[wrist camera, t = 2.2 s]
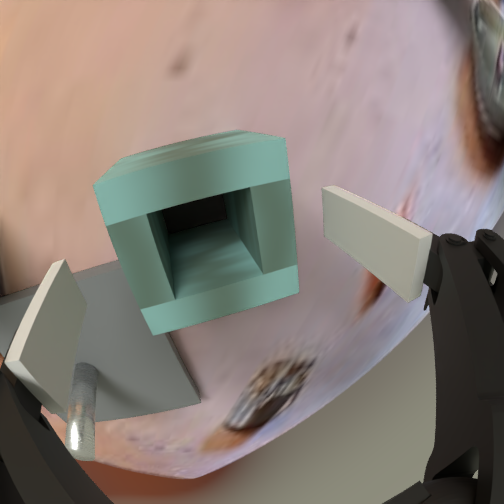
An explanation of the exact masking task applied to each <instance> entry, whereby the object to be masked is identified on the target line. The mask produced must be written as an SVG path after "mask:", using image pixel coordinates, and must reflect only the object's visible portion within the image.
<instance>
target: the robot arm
mask: <svg viewBox="0 0 504 504" xmlns="http://www.w3.org/2000/svg"><path fill="white" fill-rule="evenodd" d="M322 201H323V222H324V236H325V237H326V238H327V239H329V240H330V241H331V242H333V243H334V244H335V245H337V246H338V247H339V248H340V249H342V250H343V251H344V252H346V253H347V254H348V255H349V256H351V257H352V258H353V259H355V260H356V261H357V262H358V263H360V264H361V265H362V266H363V267H365V268H366V269H367V270H368V271H370V272H371V273H372V274H373V275H375V276H376V277H377V278H378V279H380V280H381V281H382V282H383V283H385V284H386V285H387V286H388V287H389V288H391V289H392V290H393V291H394V292H395V293H397V294H398V295H399V296H400V297H401V298H403V299H404V300H405V301H406V302H407V303H409V302H410V301H412V300H414V299H416V298H418V297H419V296H420V295H421V291H422V287H423V283H424V284H426V285H427V286H428V287H429V290H428V294H427V298H426V301H425V305H424V310H426V309H427V306H428V305H429V308H430V310H429V311H430V315H431V323H432V331H433V341H434V352H435V369H436V429H435V430H436V431H435V443H434V448H433V451H432V454H431V456H430V458H429V461H428V463H427V466H426V470H425V475H424V482H423V483H421V482H420V481H419V482H417V483H415V484H414V485H412V486H411V487H409V488H408V489H406V490H404V491H403V492H401V493H400V494H398V495H396V496H394V497H393V498H391V499H389V500H388V501H386V502H384V503H383V504H504V240H503V239H502V238H501V237H500V236H499V235H498V234H497V233H495V232H493V231H492V230H489V229H479V230H477V231H476V236H475V240H474V241H472V242H468V241H467V240H466V239H465V238H463V237H461V236H459V235H456V234H443V235H441V236H440V237H439V236H437V235H435V234H433V233H432V232H430V231H428V230H426V229H424V228H423V227H421V226H418V225H417V224H415V223H413V222H411V221H409V220H407V219H405V218H404V217H401V216H399V215H397V214H395V213H393V212H391V211H389V210H387V209H385V208H383V207H381V206H379V205H376V204H374V203H372V202H370V201H368V200H366V199H364V198H362V197H359V196H357V195H355V194H353V193H351V192H348V191H346V190H344V189H342V188H339V187H337V186H335V185H332V186H328V187H323V188H322ZM494 269H495V270H496V272H497V277H496V281H495V283H494V285H493V284H492V283H491V282H490V281H491V278H492V275H493V271H494ZM86 308H87V303H86V301H85V299H84V297H83V295H82V293H81V291H80V289H79V287H78V285H77V283H76V281H75V279H74V277H73V275H72V273H71V271H70V269H69V266H68V264H67V262H66V260H65V259H63V260H60V261H57V262H54V263H53V264H52V265H51V267H50V269H49V270H48V272H47V274H46V275H45V277H44V279H43V281H42V283H41V284H40V286H39V288H38V290H37V292H36V294H35V295H34V297H33V299H32V301H31V303H30V305H29V307H28V309H27V311H26V313H25V315H24V317H23V319H22V321H21V324H20V326H19V327H18V329H17V330H16V331H15V333H14V336H13V338H12V341H11V343H10V345H9V349H8V350H7V352H6V355H5V357H4V360H3V363H2V365H1V368H0V504H114V503H113V502H112V501H111V500H110V499H109V498H108V497H107V496H106V495H105V494H104V493H103V492H102V491H101V490H100V489H99V488H98V486H97V485H96V484H95V483H94V482H93V481H92V480H91V479H90V477H88V475H87V474H86V473H85V471H84V470H83V469H82V468H81V467H80V465H79V464H78V463H77V462H76V460H75V459H74V458H73V456H72V455H71V454H70V452H69V451H68V450H67V448H66V447H65V445H64V444H63V443H62V441H61V440H60V438H59V437H58V435H57V434H56V432H55V431H54V429H53V428H52V426H51V425H50V423H49V422H48V420H47V418H46V417H45V416H44V415H43V414H42V413H41V406H42V405H43V406H44V407H45V408H46V409H47V410H48V411H49V412H50V413H51V414H55V413H66V412H67V405H68V397H69V390H70V384H71V377H72V371H73V366H74V361H75V355H76V350H77V346H78V341H79V337H80V332H81V328H82V324H83V320H84V316H85V312H86ZM477 470H478V479H474V478H472V477H473V475H474V473H475V472H476V471H477Z"/></svg>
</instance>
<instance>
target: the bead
mask: <svg viewBox="0 0 504 504" xmlns="http://www.w3.org/2000/svg"><path fill="white" fill-rule="evenodd" d="M93 188H94V191H95V194H96V198H97V201H98V204H99V207H100V210H101V213H102V216H103V219H104V222H105V225H106V228H107V230H108V233H109V236H110V239H111V241H112V244H113V247H114V249H115V252H116V254H117V257H118V259H119V262H120V264H121V267H122V269H123V272H124V274H125V276H126V279H127V281H128V283H129V286H130V288H131V290H132V293H133V295H134V297H135V299H136V301H137V304H138V306H139V308H140V310H141V312H142V314H143V316H144V318H145V320H146V322H147V324H148V326H149V328H150V330H151V332H152V334H153V336H154V335H158V334H162V333H166V332H170V331H173V330H177V329H181V328H184V327H188V326H192V325H195V324H199V323H202V322H206V321H209V320H213V319H216V318H220V317H223V316H227V315H230V314H233V313H237V312H240V311H243V310H247V309H250V308H253V307H256V306H259V305H263V304H266V303H269V302H272V301H275V300H278V299H281V298H284V297H287V296H290V295H293V294H296V293H299V282H298V267H297V253H296V240H295V228H294V216H293V205H292V195H291V185H290V175H289V166H288V157H287V148H286V140H285V138H282V137H277V136H272V135H266V134H260V133H255V132H248V131H242V130H234V131H229V132H223V133H218V134H213V135H209V136H204V137H199V138H195V139H190V140H186V141H182V142H178V143H174V144H170V145H166V146H162V147H159V148H155V149H151V150H148V151H144V152H141V153H137V154H134V155H131V156H128V157H124V158H121V159H120V160H119V161H118V162H117V163H116V164H115V165H113V166H112V167H111V168H110V169H109V170H108V171H107V172H106V173H105V174H104V175H103V176H102V177H101V178H100V179H99V180H98V181H97V182H96V183H95V184H94V185H93ZM222 193H223V199H224V204H225V209H226V214H227V219H225V220H221V221H217V222H213V223H209V224H206V225H202V226H198V227H194V228H191V229H187V230H183V231H180V232H176V233H173V234H168V230H167V227H166V223H165V220H164V216H163V213H162V209H165V208H169V207H172V206H176V205H180V204H183V203H187V202H191V201H195V200H198V199H202V198H206V197H210V196H214V195H218V194H222Z"/></svg>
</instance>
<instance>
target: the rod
mask: <svg viewBox="0 0 504 504" xmlns="http://www.w3.org/2000/svg"><path fill="white" fill-rule="evenodd" d="M97 383H98V370H97V369H96V367H94V366H93V365H91V364H89V363H85V362H80V363H77V364H76V365H75V369H74V374H73V380H72V386H71V393H70V400H69V408H68V416H67V427H66V439H65V447H66V448H67V450H68V451H69V452H70V454H71V455H72V456H73V458H75V459H78V460H82V461H92V460H94V459H95V410H96V395H97Z"/></svg>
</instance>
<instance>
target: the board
mask: <svg viewBox="0 0 504 504" xmlns="http://www.w3.org/2000/svg"><path fill="white" fill-rule="evenodd" d="M72 275H73V277H74V279H75V281H76V283H77V285H78V287H79V289H80V291H81V293H82V295H83V297H84V299H85V301H86V303H87V308H86V312H85V316H84V320H83V324H82V328H81V332H80V337H79V341H78V346H77V350H76V355H75V361H74V366H73V371H72V377H71V384H70V390H69V397H68V405H67V412H66V413H56V414H57V415H58V416H59V417H60V418H61V419H63V420H64V421H65V422H66V423H67V416H68V408H69V400H70V393H71V386H72V380H73V374H74V369H75V365H76V364H77V363H80V362H85V363H89V364H91V365H93V366H94V367H96V369H97V370H98V383H97V395H96V410H95V422H100V421H108V420H116V419H123V418H130V417H136V416H142V415H148V414H153V413H158V412H163V411H168V410H173V409H178V408H182V407H186V406H191V405H195V404H199V403H201V399H200V395H199V392H198V390H197V388H196V386H195V384H194V383H193V381H192V379H191V377H190V375H189V373H188V371H187V369H186V367H185V365H184V363H183V361H182V359H181V357H180V355H179V353H178V351H177V349H176V347H175V345H174V343H173V341H172V339H171V337H170V335H169V333H168V332H166V333H162V334H158V335H154V336H153V334H152V332H151V330H150V328H149V326H148V324H147V322H146V320H145V318H144V316H143V314H142V312H141V310H140V308H139V306H138V304H137V301H136V299H135V297H134V295H133V293H132V290H131V288H130V286H129V283H128V281H127V279H126V276H125V274H124V272H123V269H122V267H121V264H120V262H119V260H116V261H113V262H109V263H106V264H103V265H99V266H96V267H93V268H90V269H86V270H83V271H80V272H77V273H74V274H72ZM39 286H40V284H39V285H36V286H33V287H30V288H27V289H24V290H21V291H18V292H15V293H12V294H9V295H6V296H4V297H1V298H0V353H1V354H2V355H3V357H5V355H6V352H7V350H8V349H9V345H10V343H11V341H12V338H13V336H14V333H15V331H16V330H17V329H18V327H19V326H20V324H21V321H22V319H23V317H24V315H25V313H26V311H27V309H28V307H29V305H30V303H31V301H32V299H33V297H34V295H35V294H36V292H37V290H38V288H39Z"/></svg>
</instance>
